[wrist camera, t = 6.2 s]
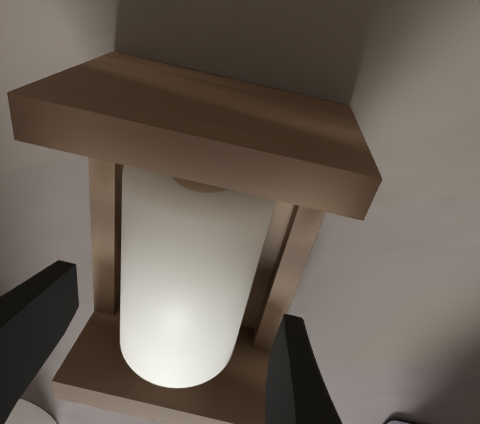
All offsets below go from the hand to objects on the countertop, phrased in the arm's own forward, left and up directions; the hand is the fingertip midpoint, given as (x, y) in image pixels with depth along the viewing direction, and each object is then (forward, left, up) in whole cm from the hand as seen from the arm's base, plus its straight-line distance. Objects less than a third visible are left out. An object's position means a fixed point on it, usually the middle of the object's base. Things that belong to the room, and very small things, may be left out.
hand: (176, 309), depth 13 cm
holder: (0, 0, -6) cm, 6 cm away
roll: (0, 0, -2) cm, 2 cm away
